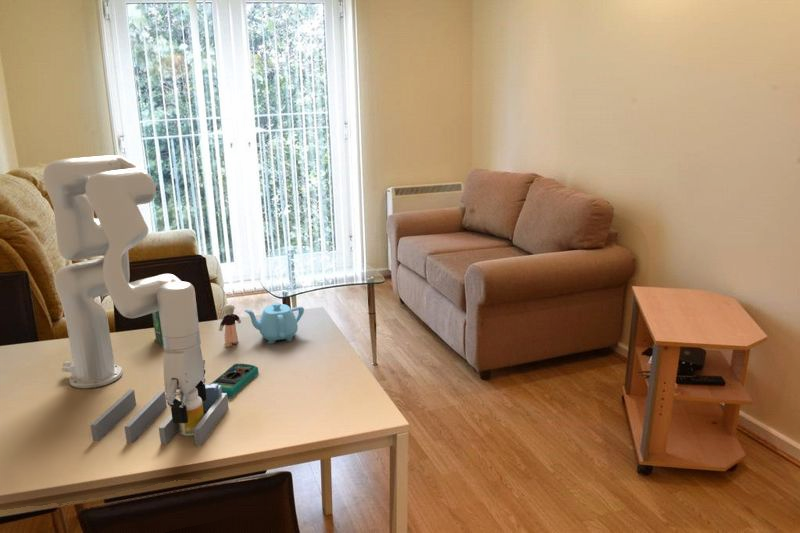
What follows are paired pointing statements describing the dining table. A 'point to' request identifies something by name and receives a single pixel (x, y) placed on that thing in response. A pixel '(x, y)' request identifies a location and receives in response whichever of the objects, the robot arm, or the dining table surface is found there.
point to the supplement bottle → (192, 412)
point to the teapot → (277, 322)
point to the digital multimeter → (236, 378)
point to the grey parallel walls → (213, 405)
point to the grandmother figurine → (230, 325)
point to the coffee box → (157, 327)
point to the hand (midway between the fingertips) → (190, 410)
